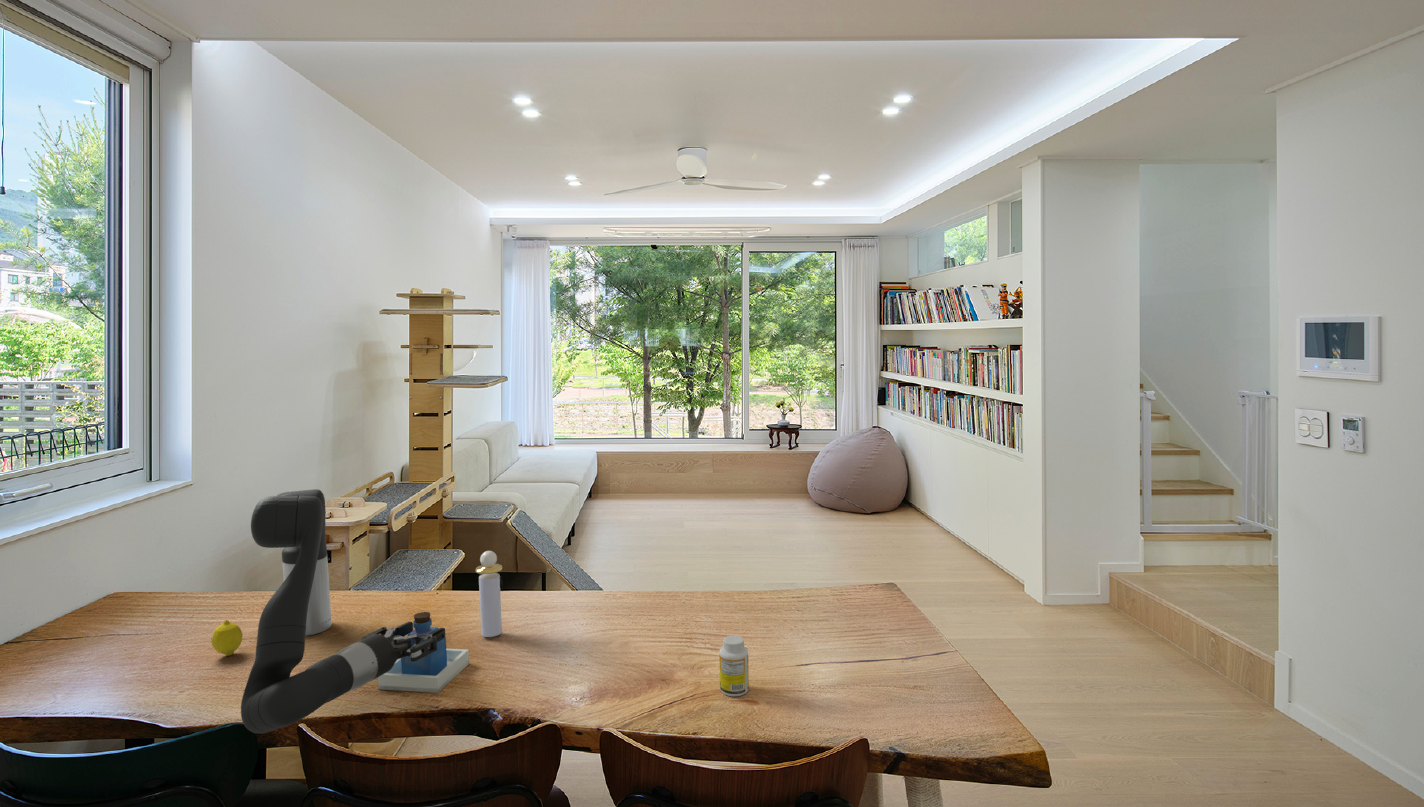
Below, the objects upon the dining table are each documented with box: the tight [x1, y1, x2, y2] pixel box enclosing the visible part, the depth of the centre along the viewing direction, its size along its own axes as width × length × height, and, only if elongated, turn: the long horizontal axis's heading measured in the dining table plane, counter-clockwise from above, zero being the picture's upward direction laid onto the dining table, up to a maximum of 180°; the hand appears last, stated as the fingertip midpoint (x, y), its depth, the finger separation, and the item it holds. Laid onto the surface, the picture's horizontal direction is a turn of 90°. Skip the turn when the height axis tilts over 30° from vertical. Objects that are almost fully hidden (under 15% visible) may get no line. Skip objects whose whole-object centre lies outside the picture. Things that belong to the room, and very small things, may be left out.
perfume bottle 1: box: [401, 611, 447, 676], centre depth 144 cm, size 6×6×12 cm
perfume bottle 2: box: [475, 550, 504, 638], centre depth 163 cm, size 6×6×20 cm
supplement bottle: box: [718, 635, 750, 698], centre depth 137 cm, size 6×6×10 cm
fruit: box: [211, 619, 243, 656], centre depth 155 cm, size 6×6×8 cm
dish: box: [376, 647, 470, 694], centre depth 145 cm, size 13×13×3 cm
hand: (427, 629), depth 145 cm, fingers open, 8 cm apart
